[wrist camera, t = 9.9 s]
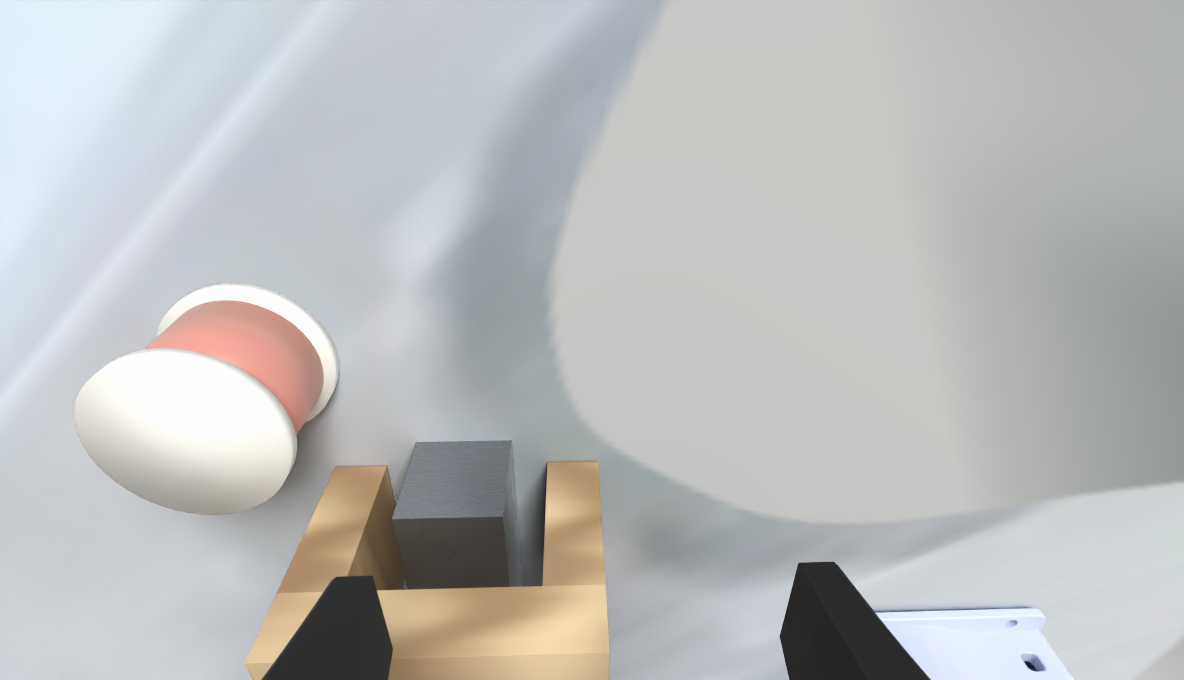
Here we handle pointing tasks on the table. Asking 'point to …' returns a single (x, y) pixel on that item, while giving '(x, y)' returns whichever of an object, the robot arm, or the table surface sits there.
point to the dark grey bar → (459, 517)
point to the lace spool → (211, 401)
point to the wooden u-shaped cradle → (457, 589)
